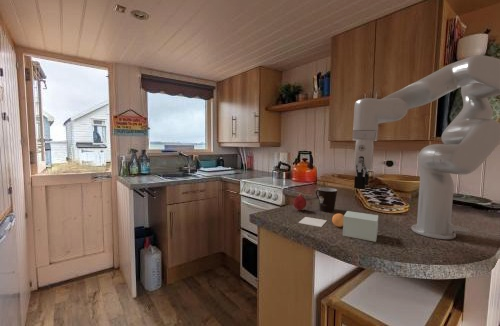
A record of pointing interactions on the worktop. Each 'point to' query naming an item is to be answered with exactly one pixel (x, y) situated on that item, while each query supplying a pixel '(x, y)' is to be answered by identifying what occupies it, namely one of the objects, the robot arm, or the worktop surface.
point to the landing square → (313, 221)
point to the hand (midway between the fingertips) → (361, 186)
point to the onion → (299, 202)
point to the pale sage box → (360, 225)
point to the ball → (338, 220)
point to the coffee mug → (327, 199)
